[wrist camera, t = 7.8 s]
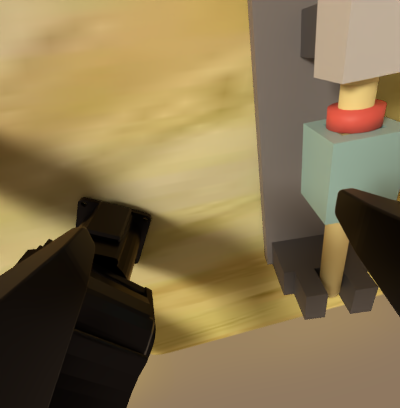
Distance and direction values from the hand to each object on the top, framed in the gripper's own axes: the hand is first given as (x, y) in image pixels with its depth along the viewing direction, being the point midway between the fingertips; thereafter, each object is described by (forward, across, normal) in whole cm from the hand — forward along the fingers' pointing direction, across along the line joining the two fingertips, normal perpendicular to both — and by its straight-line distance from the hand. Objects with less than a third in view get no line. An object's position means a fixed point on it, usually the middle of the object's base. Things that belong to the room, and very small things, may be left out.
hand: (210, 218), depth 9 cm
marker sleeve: (+8, -8, +2) cm, 12 cm away
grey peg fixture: (+12, -8, +3) cm, 15 cm away
